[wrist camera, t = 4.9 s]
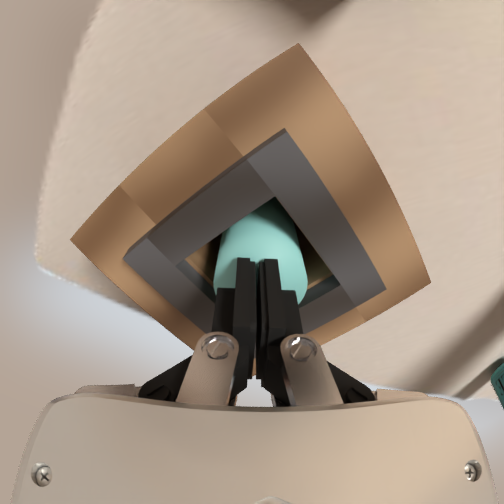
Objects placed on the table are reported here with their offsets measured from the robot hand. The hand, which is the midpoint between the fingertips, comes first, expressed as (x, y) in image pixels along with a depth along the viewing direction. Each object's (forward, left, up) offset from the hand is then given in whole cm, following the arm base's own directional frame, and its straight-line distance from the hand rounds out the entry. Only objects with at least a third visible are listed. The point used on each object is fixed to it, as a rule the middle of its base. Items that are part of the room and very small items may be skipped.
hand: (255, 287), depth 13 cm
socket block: (0, 0, -10) cm, 10 cm away
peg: (0, 0, -9) cm, 9 cm away
